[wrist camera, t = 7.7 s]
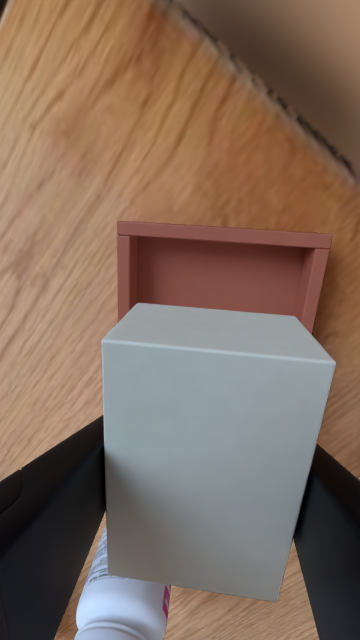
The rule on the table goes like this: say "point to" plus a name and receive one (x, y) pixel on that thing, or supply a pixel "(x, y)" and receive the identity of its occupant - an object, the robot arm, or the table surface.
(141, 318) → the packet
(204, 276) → the tray
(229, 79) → the table surface
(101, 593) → the pill bottle
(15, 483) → the robot arm
